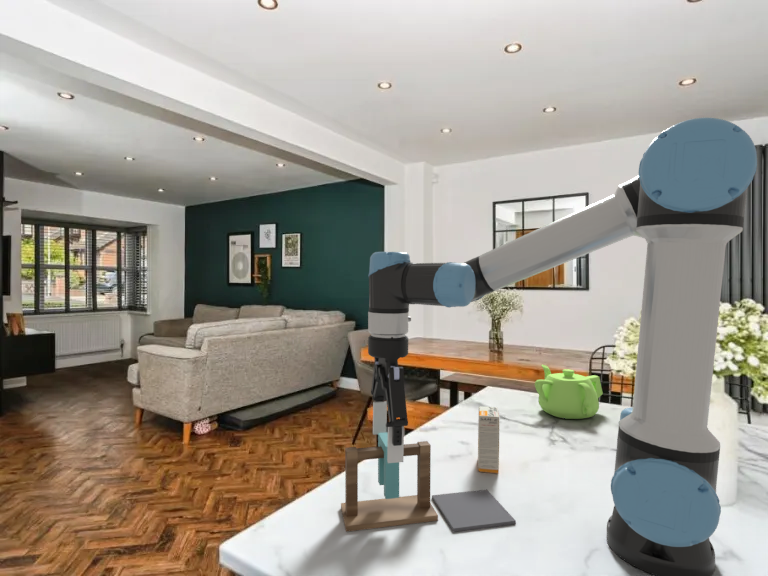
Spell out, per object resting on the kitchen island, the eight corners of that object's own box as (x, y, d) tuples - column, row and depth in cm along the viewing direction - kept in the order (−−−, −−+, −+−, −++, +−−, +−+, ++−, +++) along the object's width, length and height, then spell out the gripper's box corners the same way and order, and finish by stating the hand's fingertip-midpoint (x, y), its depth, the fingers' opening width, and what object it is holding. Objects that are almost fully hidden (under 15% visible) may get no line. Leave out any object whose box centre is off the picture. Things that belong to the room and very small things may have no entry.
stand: (437, 520, 82) (438, 450, 81) (346, 531, 78) (346, 458, 78) (424, 499, 90) (425, 435, 89) (341, 508, 86) (340, 442, 86)
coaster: (515, 523, 81) (515, 520, 81) (453, 531, 78) (453, 528, 78) (486, 492, 92) (486, 489, 92) (431, 498, 90) (431, 495, 90)
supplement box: (499, 474, 101) (500, 417, 100) (478, 472, 102) (478, 415, 101) (497, 459, 109) (498, 406, 109) (477, 457, 110) (478, 405, 109)
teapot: (594, 426, 132) (595, 379, 132) (527, 415, 143) (527, 371, 143) (602, 410, 148) (603, 367, 148) (541, 401, 159) (541, 361, 158)
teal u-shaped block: (399, 497, 81) (399, 445, 80) (385, 499, 80) (385, 446, 80) (390, 480, 87) (390, 432, 87) (378, 481, 87) (378, 433, 87)
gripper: (428, 345, 71) (425, 474, 72) (392, 326, 96) (391, 423, 97) (382, 346, 70) (380, 478, 71) (358, 326, 94) (357, 425, 95)
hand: (386, 446), depth 84 cm, fingers open, 13 cm apart
